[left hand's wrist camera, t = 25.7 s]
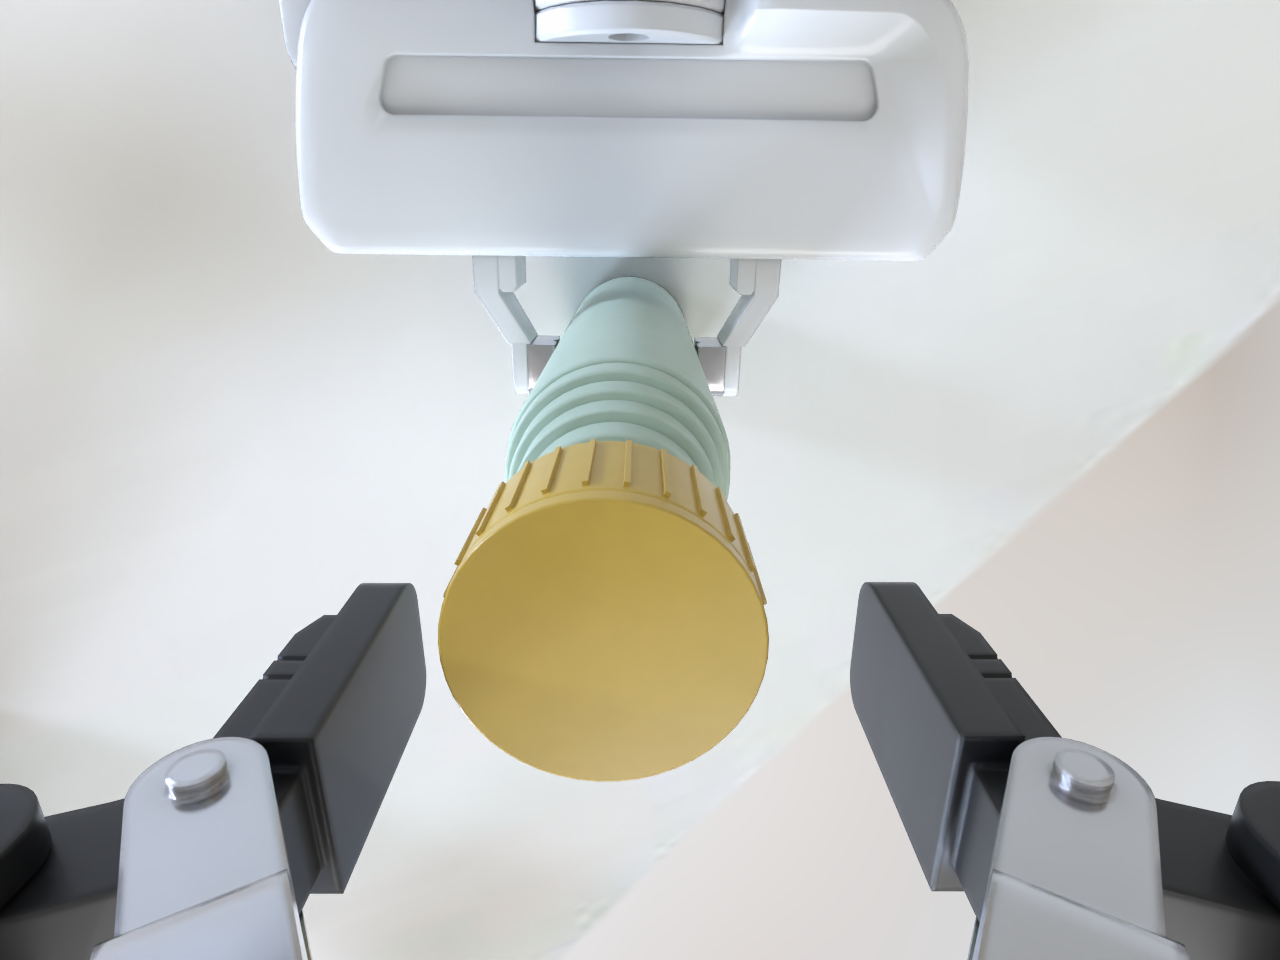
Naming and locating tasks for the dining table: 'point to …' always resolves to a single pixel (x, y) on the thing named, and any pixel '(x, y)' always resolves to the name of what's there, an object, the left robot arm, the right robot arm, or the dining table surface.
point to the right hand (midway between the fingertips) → (627, 391)
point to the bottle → (624, 384)
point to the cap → (605, 615)
